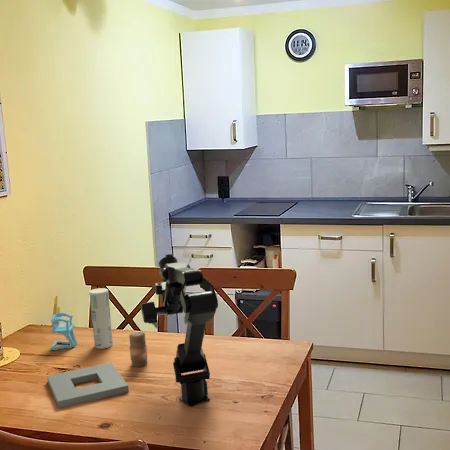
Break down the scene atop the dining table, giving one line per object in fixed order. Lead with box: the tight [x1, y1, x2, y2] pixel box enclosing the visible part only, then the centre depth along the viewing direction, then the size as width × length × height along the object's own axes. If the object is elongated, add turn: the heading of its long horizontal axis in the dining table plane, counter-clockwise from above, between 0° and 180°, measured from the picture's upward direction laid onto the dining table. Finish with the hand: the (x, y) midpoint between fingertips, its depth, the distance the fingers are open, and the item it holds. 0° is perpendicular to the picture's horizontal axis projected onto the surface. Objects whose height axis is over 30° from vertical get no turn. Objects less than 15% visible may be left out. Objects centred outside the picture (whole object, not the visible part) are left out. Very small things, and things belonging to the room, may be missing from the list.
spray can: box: [88, 287, 114, 349], centre depth 220 cm, size 6×6×20 cm
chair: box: [49, 312, 78, 351], centre depth 222 cm, size 8×8×12 cm
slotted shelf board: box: [46, 362, 129, 409], centre depth 188 cm, size 20×20×2 cm
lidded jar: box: [128, 331, 148, 368], centre depth 203 cm, size 5×5×10 cm
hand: (170, 324), depth 198 cm, fingers open, 9 cm apart
